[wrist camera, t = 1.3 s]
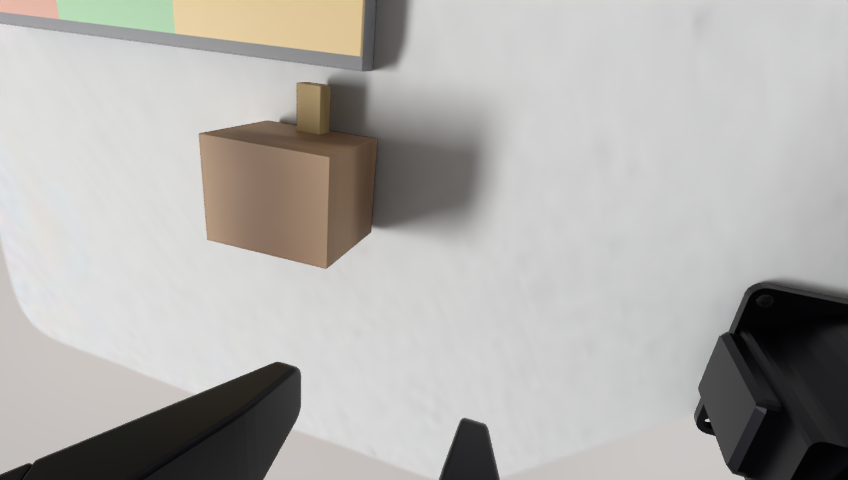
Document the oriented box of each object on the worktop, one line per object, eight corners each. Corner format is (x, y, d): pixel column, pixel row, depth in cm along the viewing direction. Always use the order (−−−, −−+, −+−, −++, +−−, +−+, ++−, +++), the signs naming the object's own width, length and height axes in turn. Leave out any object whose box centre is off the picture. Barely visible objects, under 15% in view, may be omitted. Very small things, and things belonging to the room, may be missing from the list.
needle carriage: (380, 91, 18) (330, 99, 14) (371, 231, 20) (326, 268, 17) (266, 75, 19) (194, 78, 15) (269, 209, 21) (207, 239, 18)
